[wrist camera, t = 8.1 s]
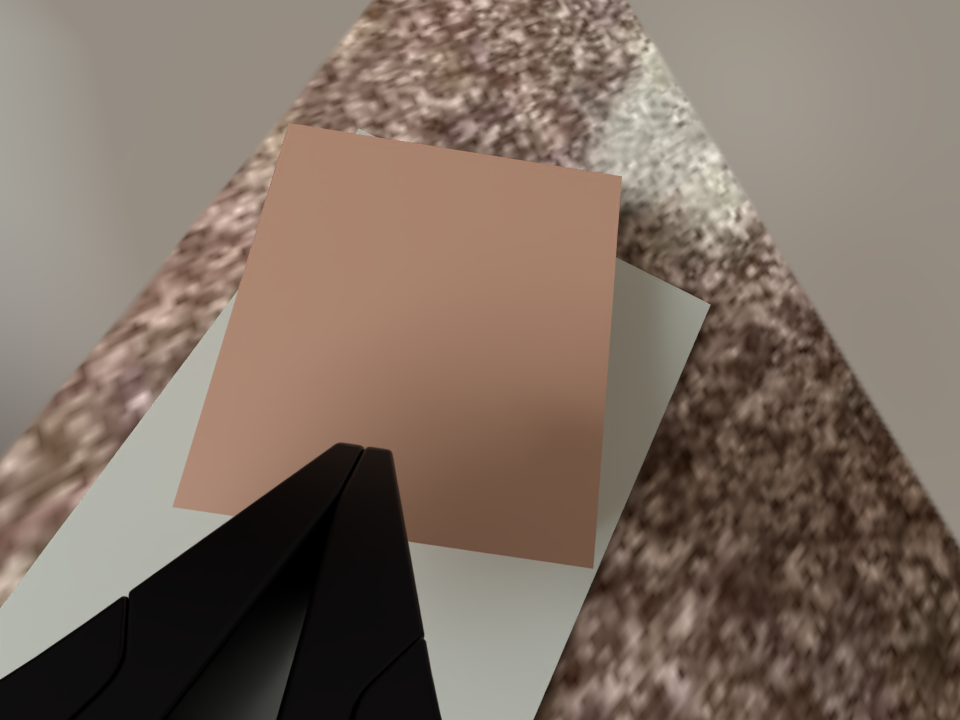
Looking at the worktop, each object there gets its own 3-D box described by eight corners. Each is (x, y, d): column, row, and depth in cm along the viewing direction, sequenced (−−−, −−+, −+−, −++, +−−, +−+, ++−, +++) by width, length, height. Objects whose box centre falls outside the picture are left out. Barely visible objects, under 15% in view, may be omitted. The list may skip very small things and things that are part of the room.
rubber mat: (704, 309, 19) (710, 304, 18) (406, 1001, 13) (404, 1020, 13) (360, 137, 20) (358, 128, 20) (-56, 699, 14) (-73, 706, 14)
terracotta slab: (593, 568, 12) (621, 176, 15) (172, 507, 12) (289, 123, 15) (558, 553, 16) (586, 242, 19) (240, 506, 16) (321, 201, 19)
